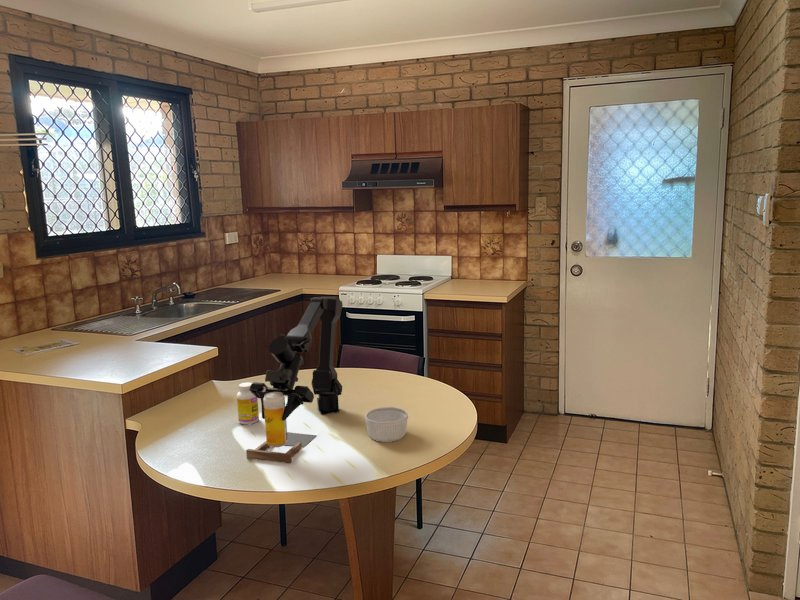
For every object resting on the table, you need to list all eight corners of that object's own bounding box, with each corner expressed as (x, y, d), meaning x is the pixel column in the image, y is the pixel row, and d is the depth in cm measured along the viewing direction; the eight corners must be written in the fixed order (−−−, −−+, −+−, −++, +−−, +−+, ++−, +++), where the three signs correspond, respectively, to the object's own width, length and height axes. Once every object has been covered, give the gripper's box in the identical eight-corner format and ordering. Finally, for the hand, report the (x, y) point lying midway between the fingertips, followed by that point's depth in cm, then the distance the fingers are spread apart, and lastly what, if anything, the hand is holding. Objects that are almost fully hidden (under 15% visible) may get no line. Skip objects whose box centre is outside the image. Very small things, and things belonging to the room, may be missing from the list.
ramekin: (376, 447, 187) (375, 425, 186) (358, 432, 198) (357, 411, 197) (416, 438, 193) (415, 416, 192) (396, 424, 204) (395, 403, 203)
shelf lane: (264, 444, 192) (264, 436, 191) (306, 449, 187) (305, 441, 187) (246, 458, 182) (246, 450, 182) (290, 463, 178) (289, 455, 177)
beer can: (268, 440, 188) (264, 392, 185) (288, 438, 188) (285, 390, 185) (265, 448, 182) (261, 399, 179) (287, 447, 182) (283, 397, 179)
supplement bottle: (254, 425, 207) (251, 388, 205) (235, 424, 208) (232, 387, 206) (262, 418, 214) (259, 381, 211) (244, 417, 215) (241, 381, 213)
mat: (285, 432, 200) (285, 431, 200) (316, 435, 197) (316, 435, 197) (270, 443, 192) (270, 443, 192) (303, 447, 189) (303, 446, 189)
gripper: (249, 356, 187) (231, 404, 179) (306, 359, 181) (291, 410, 173) (265, 373, 195) (249, 420, 187) (320, 377, 190) (306, 426, 181)
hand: (273, 419), depth 182 cm, fingers closed on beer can, 6 cm apart
